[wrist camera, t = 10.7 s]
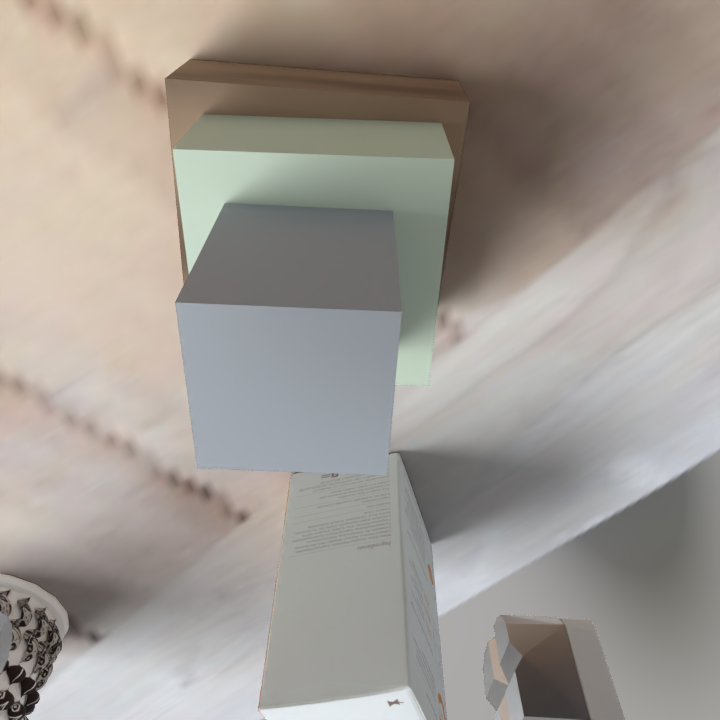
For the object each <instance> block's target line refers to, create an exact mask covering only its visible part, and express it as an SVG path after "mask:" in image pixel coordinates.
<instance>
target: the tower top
mask: <svg viewBox="0 0 720 720" xmlns="http://www.w3.org/2000/svg"><path fill="white" fill-rule="evenodd" d="M173 157H174V164H175V172H176V180H177V188H178V195H179V203H180V211H181V218H182V226H183V234H184V242H185V249H186V257H187V265H188V273H189V274H190V272H191V270H192V268H193V266H194V264H195V262H196V260H197V258H198V256H199V254H200V252H201V250H202V248H203V246H204V243H205V241H206V239H207V237H208V235H209V233H210V231H211V229H212V227H213V225H214V223H215V221H216V219H217V217H218V215H219V213H220V211H221V209H222V207H223V205H224V203H232V204H254V205H276V206H298V207H320V208H342V209H364V210H385V211H393V219H394V230H395V241H396V252H397V263H398V274H399V286H400V297H401V308H402V316H401V327H400V338H399V349H398V359H397V370H396V381H395V385H423V386H429V378H430V369H431V360H432V352H433V343H434V334H435V325H436V317H437V308H438V299H439V290H440V282H441V273H442V264H443V255H444V247H445V238H446V229H447V220H448V212H449V203H450V194H451V186H452V177H453V168H454V157H453V154H452V151H451V148H450V145H449V143H448V140H447V137H446V134H445V131H444V128H443V126H442V123H430V122H402V121H375V120H348V119H320V118H293V117H266V116H238V115H211V114H202V116H201V117H200V118H199V119H198V120H197V121H196V123H195V124H194V125H193V126H192V127H191V128H190V129H189V131H188V132H187V133H186V134H185V135H184V136H183V138H182V139H181V140H180V141H179V142H178V143H177V145H176V146H175V147H174V148H173Z"/></svg>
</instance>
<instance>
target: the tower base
mask: <svg viewBox="0 0 720 720" xmlns="http://www.w3.org/2000/svg"><path fill="white" fill-rule="evenodd" d="M165 84H166V95H167V106H168V117H169V128H170V139H171V150H172V161H173V172H174V183H175V194H176V205H177V216H178V227H179V238H180V249H181V260H182V271H183V282H184V284H185V282H186V280H187V278H188V276H189V273H188V265H187V257H186V249H185V242H184V234H183V226H182V218H181V211H180V203H179V195H178V188H177V180H176V172H175V164H174V157H173V148H174V147H175V146H176V145H177V143H178V142H179V141H180V140H181V139H182V138H183V136H184V135H185V134H186V133H187V132H188V131H189V129H190V128H191V127H192V126H193V125H194V124H195V123H196V121H197V120H198V119H199V118H200V117H201V116H202V114H211V115H238V116H266V117H293V118H320V119H348V120H375V121H402V122H430V123H442V126H443V128H444V131H445V134H446V137H447V140H448V143H449V145H450V148H451V151H452V154H453V157H454V168H453V177H452V186H451V194H450V203H449V212H448V220H447V229H446V238H445V247H444V255H443V264H442V273H441V282H440V289H441V283H442V276H443V270H444V264H445V258H446V251H447V245H448V239H449V233H450V226H451V220H452V214H453V208H454V201H455V195H456V189H457V183H458V176H459V170H460V164H461V158H462V151H463V145H464V139H465V132H466V126H467V120H468V114H469V107H470V101H469V99H468V98H467V96H466V94H465V92H464V90H463V89H462V87H461V85H460V83H459V81H455V80H443V79H430V78H418V77H405V76H393V75H380V74H368V73H355V72H343V71H330V70H318V69H305V68H293V67H280V66H268V65H255V64H243V63H230V62H218V61H205V60H193V59H190V60H188V61H187V62H186V63H185V64H183V65H182V66H181V67H179V68H178V69H177V70H175V71H174V72H173V73H171V74H170V75H169V76H168V77H166V78H165ZM439 295H440V290H439ZM438 302H439V299H438Z"/></svg>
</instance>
